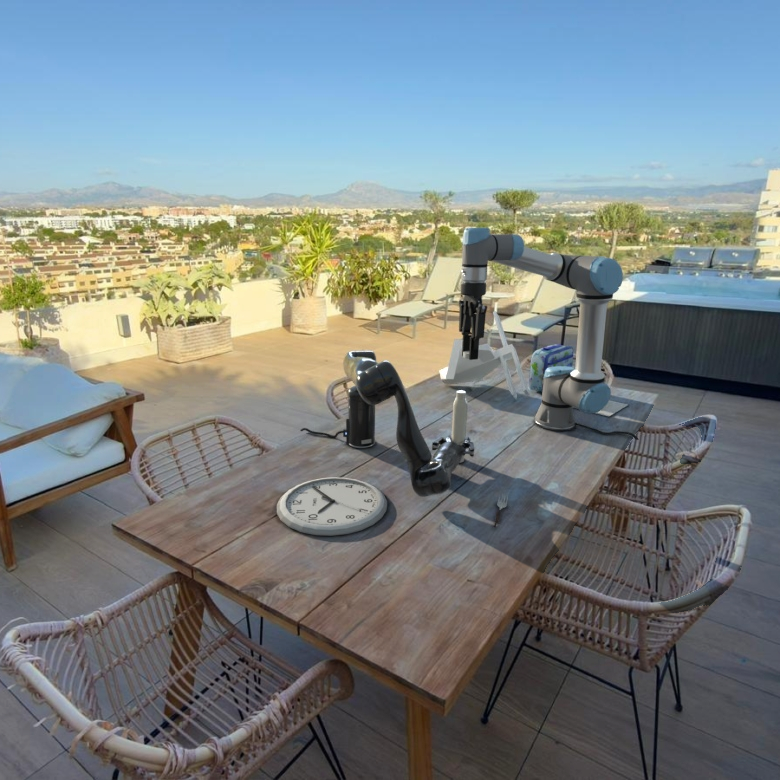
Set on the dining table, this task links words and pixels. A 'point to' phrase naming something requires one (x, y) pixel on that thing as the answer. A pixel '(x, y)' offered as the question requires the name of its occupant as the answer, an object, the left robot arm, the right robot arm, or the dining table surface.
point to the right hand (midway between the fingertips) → (469, 357)
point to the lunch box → (548, 363)
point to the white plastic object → (483, 363)
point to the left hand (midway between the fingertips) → (460, 438)
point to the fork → (500, 505)
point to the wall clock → (331, 506)
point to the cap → (466, 354)
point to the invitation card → (611, 408)
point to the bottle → (459, 419)
